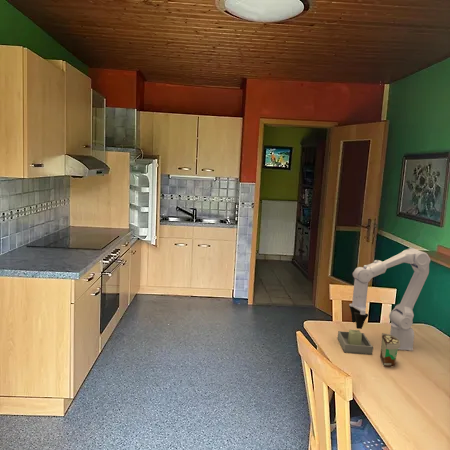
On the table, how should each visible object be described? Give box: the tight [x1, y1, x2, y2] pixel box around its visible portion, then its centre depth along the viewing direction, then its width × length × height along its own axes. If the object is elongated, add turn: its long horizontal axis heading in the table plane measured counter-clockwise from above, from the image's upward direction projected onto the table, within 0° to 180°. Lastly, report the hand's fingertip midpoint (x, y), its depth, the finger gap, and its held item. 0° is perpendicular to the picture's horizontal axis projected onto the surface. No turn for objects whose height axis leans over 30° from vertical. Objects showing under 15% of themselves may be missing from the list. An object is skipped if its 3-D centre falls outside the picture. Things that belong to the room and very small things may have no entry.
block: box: [348, 329, 362, 345], centre depth 188 cm, size 4×4×6 cm
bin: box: [337, 330, 374, 356], centre depth 188 cm, size 11×15×4 cm
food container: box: [379, 332, 400, 368], centre depth 173 cm, size 12×6×10 cm, turn 168°
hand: (356, 325), depth 188 cm, fingers open, 7 cm apart
